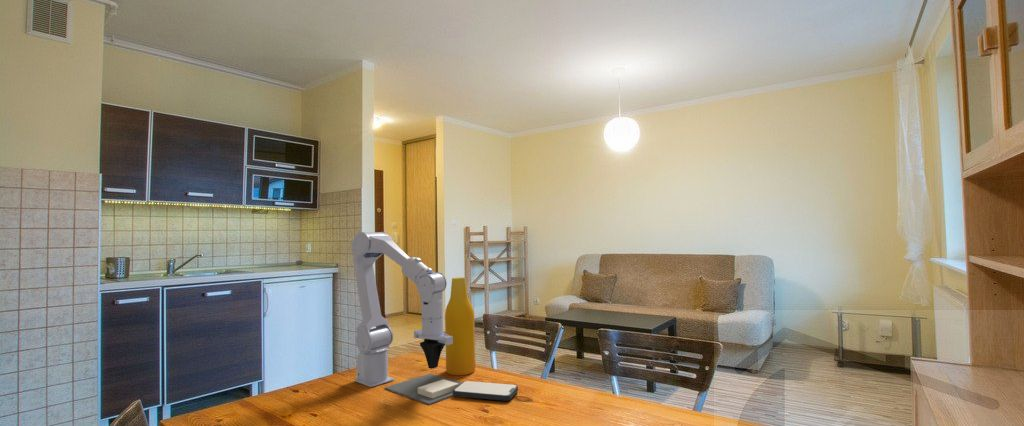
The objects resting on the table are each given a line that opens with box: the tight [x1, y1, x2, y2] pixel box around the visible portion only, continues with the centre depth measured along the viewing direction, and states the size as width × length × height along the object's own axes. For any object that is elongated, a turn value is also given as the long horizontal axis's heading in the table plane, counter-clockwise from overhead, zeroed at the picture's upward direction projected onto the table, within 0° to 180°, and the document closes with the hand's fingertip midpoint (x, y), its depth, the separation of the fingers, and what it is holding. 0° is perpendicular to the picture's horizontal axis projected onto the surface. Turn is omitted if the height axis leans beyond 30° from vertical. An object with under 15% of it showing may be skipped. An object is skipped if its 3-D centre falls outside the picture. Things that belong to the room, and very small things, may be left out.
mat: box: [384, 372, 463, 406], centre depth 128 cm, size 20×16×1 cm
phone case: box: [453, 380, 519, 402], centre depth 122 cm, size 9×2×16 cm
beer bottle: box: [444, 276, 477, 376], centre depth 144 cm, size 9×9×29 cm
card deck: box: [418, 379, 459, 399], centre depth 124 cm, size 2×9×6 cm
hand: (433, 367), depth 125 cm, fingers closed
